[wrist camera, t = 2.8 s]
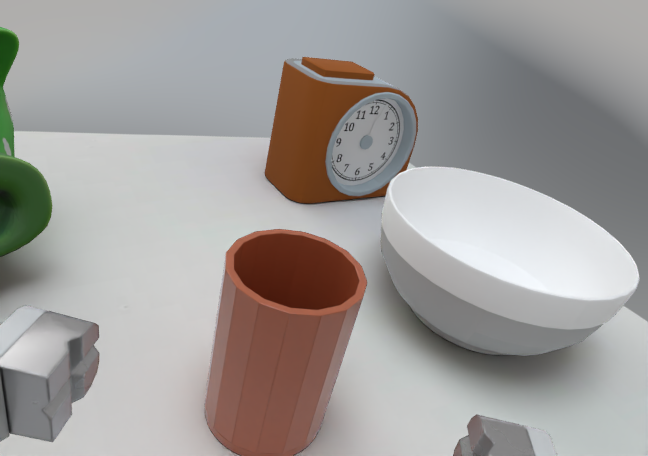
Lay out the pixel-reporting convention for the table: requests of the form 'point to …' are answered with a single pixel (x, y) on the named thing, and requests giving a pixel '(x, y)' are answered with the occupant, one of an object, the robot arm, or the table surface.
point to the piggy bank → (17, 173)
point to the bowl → (500, 262)
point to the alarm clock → (338, 132)
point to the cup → (279, 340)
